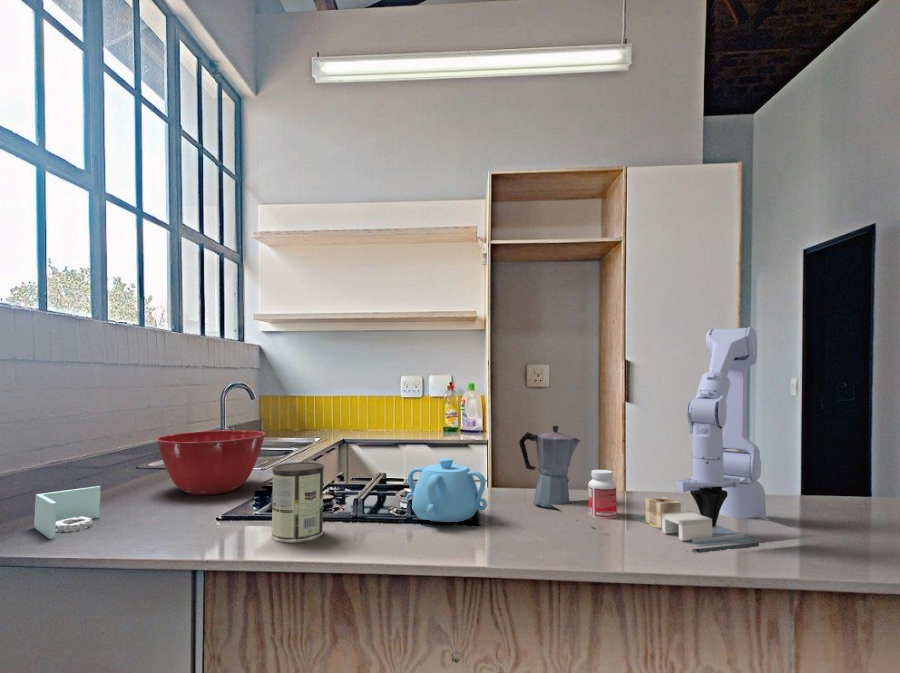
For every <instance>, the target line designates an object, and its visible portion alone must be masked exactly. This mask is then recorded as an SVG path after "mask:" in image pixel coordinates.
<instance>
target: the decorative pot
mask: <svg viewBox="0 0 900 673" xmlns="http://www.w3.org/2000/svg"><path fill="white" fill-rule="evenodd" d="M438 462H439V463H438V464H431V465H426V467H415V468H413V469H411V470H410V471H409V473H408V474H407V481H408V486H409V489H410V492H408V493H407V495H406V497H405V500H406V502H407V501H408V499H409V498H411V496H412V498H411V500H412V505H411V507H412V511H413V513H414V514H415V516H416V517H417V518H418V519H420V520H430V521H433V522H441V523H444V522H445V523H449V522H459V521H460V522H463V521H466V520H469V519H471V518H472V517H473V516H474V515H475V514H476V512H477V511H480V512H481V511H484V510H486V509H487V507H488V502H487V500H486V499H485V498H482V497H483V494H484V491H485V488H486V478H485V476H484V475H483V474H482V473H481V472H480V471H477V470H471V469H470V468H469V467H468V466H467V465H463V464H462V465H461V464H456V463H455V464H453V462H454V459H453V458H447V457H446V458H440V459H439V461H438ZM417 472H418V473H420V475H419V477H418V479H417V481H416V485H415V482H414V475H415V473H417ZM474 476H475V477H477V478H478V479H479V484H480V485H479V489H478V486H477V483H476V481H475V479H474ZM481 503H482V505H481Z"/></svg>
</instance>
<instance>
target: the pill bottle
mask: <svg viewBox="0 0 900 673" xmlns="http://www.w3.org/2000/svg"><path fill="white" fill-rule="evenodd" d="M613 473H614V472H613V471H612V470H607V469H593V470H591V478H592V479H591V480H590V481H589V482H588V485H587V487H588V490H587V492H588V493H587V494H588V516H590V517H592V518H596V519H601V520H603V519H608V520H610V519H615V518H617V517H618V516H617V515H618V514H617V513H618V512H617V511H618V509H617V508H618V507H617V485H616V482H615V481H613V480H612V479H613V476H614V474H613Z"/></svg>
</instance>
